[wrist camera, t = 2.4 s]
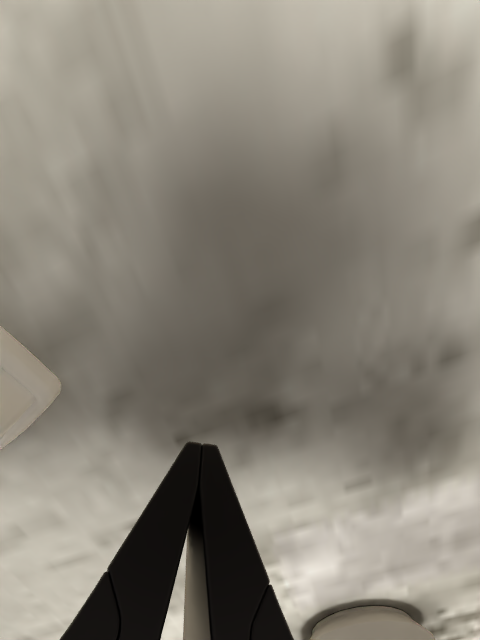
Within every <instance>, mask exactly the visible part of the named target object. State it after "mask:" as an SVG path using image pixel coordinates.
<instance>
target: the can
mask: <svg viewBox="0 0 480 640" xmlns="http://www.w3.org/2000/svg"><path fill="white" fill-rule="evenodd" d="M310 640H435V638H434V636H433V634H432V633H431V632H430V631H428V630H427V629H426V628H424V627H423V626H421V625H420V624H418V623H417V622H415V621H414V620H412V619H411V617H410V616H409V615H408V614H406V613H405V612H404V611H402V610H399V609H395V608H392V607H384V606H365V607H356V608H352V609H347V610H343V611H340V612H337V613H335V614H332V615H330V616H328V617H326V618H325V619H323V620H322V621H320V622H319V623H317V625H316V626H315V627H314V629H313V630H312V636H311V638H310Z"/></svg>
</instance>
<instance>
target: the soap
mask: <svg viewBox="0 0 480 640" xmlns="http://www.w3.org/2000/svg"><path fill="white" fill-rule="evenodd" d="M60 392H61V383H60V381H59V379H58V378H57V377H56V375H54V374H53V373H52V372H51V371H50V370H49V369H48V368H47V367H46V366H45V365H44V364H43V363H42V362H41V361H39V360H38V359H37V358H36V357H35V356H34V355H33V354H32V353H31V352H30V351H29V350H28V349H26V348H25V347H24V346H23V345H22V344H21V343H20V342H18V341H17V340H16V339H15V338H14V337H13V336H12V335H11V334H9V333H8V332H7V331H6V330H5V329H4V328H3V327H1V326H0V450H1V449H2V448H4V447H5V446H6V445H8V444H9V443H10V442H12V441H13V440H14V439H15V438H16V437H18V436H19V435H20V434H21V433H22V432H24V431H25V430H26V429H27V428H28V427H29V426H30V425H31V424H32V423H33V422H34V421H35V420H36V419H37V418H38V417H39V416H40V415H41V414H42V413H43V412H44V411H45V410H46V409H47V408H48V407H49V406H50V405H51V403H52V402H53V401H54V400H55V398H56V397H57V396H58V395H59V393H60Z"/></svg>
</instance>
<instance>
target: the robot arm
mask: <svg viewBox="0 0 480 640" xmlns="http://www.w3.org/2000/svg"><path fill="white" fill-rule="evenodd" d="M187 531H188V533H187ZM186 535H187V552H186V578H185V604H184V630H183V640H294V639H293V636H292V634H291V632H290V629H289V627H288V625H287V622H286V620H285V617H284V615H283V613H282V610H281V608H280V605H279V603H278V600H277V598H276V595H275V592H274V590H273V587H272V585H270V584H269V582H270V580H269V578H268V575H267V572H266V570H265V567H264V565H263V562H262V560H261V557H260V554H259V552H258V549H257V547H256V544H255V542H254V539H253V536H252V534H251V531H250V529H249V526H248V524H247V521H246V519H245V516H244V513H243V511H242V508H241V506H240V503H239V501H238V498H237V495H236V493H235V490H234V488H233V485H232V483H231V480H230V478H229V475H228V472H227V470H226V467H225V465H224V462H223V460H222V457H221V454H220V452H219V449H218V447H217V446H216V445H211V444H203V445H201V443H197V442H187V443H186V444H185V446H184V447H183V449H182V451H181V452H180V454H179V455H178V457H177V459H176V460H175V462H174V463H173V465H172V466H171V468H170V470H169V471H168V473H167V474H166V476H165V478H164V479H163V481H162V482H161V484H160V485H159V487H158V489H157V490H156V492H155V493H154V495H153V497H152V498H151V500H150V501H149V503H148V505H147V506H146V508H145V509H144V511H143V512H142V514H141V516H140V517H139V519H138V520H137V522H136V524H135V525H134V527H133V528H132V530H131V532H130V533H129V535H128V536H127V538H126V539H125V541H124V543H123V544H122V546H121V547H120V549H119V551H118V552H117V554H116V555H115V557H114V559H113V560H112V562H111V563H110V565H109V566H108V569H107V571H106V572H105V573H104V574H103V576H102V577H101V579H100V580H99V582H98V583H97V585H96V587H95V588H94V590H93V591H92V593H91V594H90V596H89V597H88V599H87V600H86V602H85V604H84V605H83V607H82V608H81V610H80V611H79V613H78V614H77V616H76V617H75V619H74V620H73V622H72V623H71V625H70V626H69V627H68V629H67V630H66V632H65V633H64V634H63V636H62V637H61V638H60V640H160V638H161V634H162V630H163V626H164V623H165V619H166V615H167V611H168V607H169V603H170V599H171V595H172V591H173V587H174V583H175V579H176V575H177V571H178V567H179V563H180V559H181V555H182V551H183V547H184V543H185V539H186Z"/></svg>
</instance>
